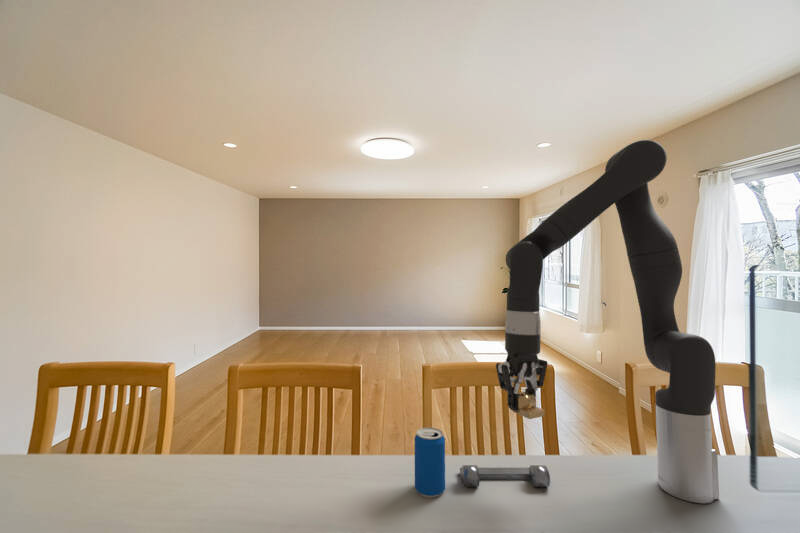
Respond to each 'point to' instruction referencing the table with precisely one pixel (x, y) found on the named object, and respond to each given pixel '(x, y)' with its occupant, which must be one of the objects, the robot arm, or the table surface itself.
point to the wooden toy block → (528, 406)
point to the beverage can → (430, 462)
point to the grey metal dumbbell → (505, 474)
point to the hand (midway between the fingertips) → (521, 407)
